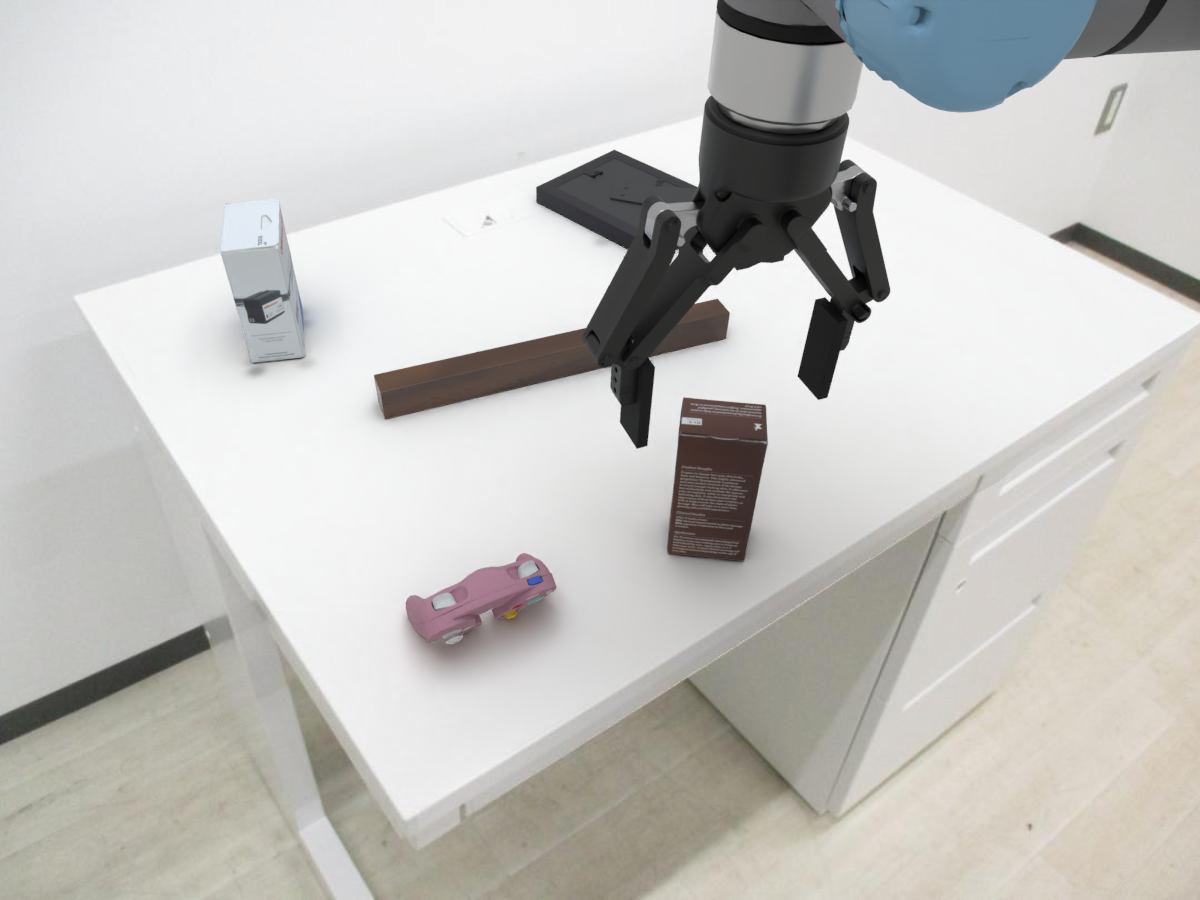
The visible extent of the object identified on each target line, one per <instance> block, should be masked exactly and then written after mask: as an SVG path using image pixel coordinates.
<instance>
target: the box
mask: <svg viewBox="0 0 1200 900" xmlns="http://www.w3.org/2000/svg"><path fill="white" fill-rule="evenodd" d="M679 416H680V417H679V426H678V433H677V434H678V435H677V448H676V457H675V467H674V477H673V478H674V479H673V485H672V486H673V487H672V494H671V495H672V497H671V505H670V513H669V523H668V524H669V525H668V536H667V544H666V551H667V553H668V554H670V555H681V556H689V557H690V556H691V557H700V558H710V559H719V560H730V561H737V562H739V561H740V562H745V561H746V554H747V549H748V544H749V539H750V535H751V530H752V524H753V520H754V515H755V510H756V504H757V500H758V495H759V488H760V484H761V479H762V473H763V468H764V463H765V459H766V454H767V449H768V445H769V439H768V438H769V437H768V422H767V421H768V419H767V405H766V404H762V403H751V402H750V403H749V402H738V401H737V402H736V401H727V400H715V399H704V398H695V397H694V398H693V397H683V398H682V401H681V408H680V415H679Z"/></svg>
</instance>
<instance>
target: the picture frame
mask: <svg viewBox="0 0 1200 900" xmlns="http://www.w3.org/2000/svg"><path fill="white" fill-rule="evenodd" d="M697 188H698V186H696V185H694V184H692V183H689V182H688V181H685V180H683V179H681V178H679V177H677V176H674V175H672V174H669V173H667V172H666V171H663V170H661V169H658V168H656V167H654V166H652V165H650V164H647V163H645V162H643V161H641V160H639V159H636V158H634V157H631V156H629V155H627V154H626V153H623V152H621V151H619V150H616V149H613V150H610V151H608V152H606V153H604V154H602V155H600V156H598V157H595V158H593V159H592V160H590V161H587V162H585V163H583V164H581V165H579V166H577V167H575V168H573V169H571V170H568V171H567V172H565V173H561V174H560V175H558V176H557V177H554V178H552V179H550V180H548V181H546V182H544V183H542V184H540V185H538V186H536V187H535V192H536V193H535V198H536V203H538V204H539V205H541V206H542V207H545V208H546V209H549V210H551V211H553V212H555V213H556V214H559V215H561V216H563V217H565V218H567V219H568V220H570V221H573V222H574V223H576V224H578V225H580V226H582V227H584V228H586V229H587V230H589V231H592V232H594V233H595V234H597V235H599V236H601V237H603V238H606V239H607V240H609V241H611V242H613V243H615V244H617V245H619V246H621V247H623V248H625V249H627V250H628V249H629V247H630V245H631V243H632V241H633V240H634V238H635V236H636V234H637V230H638V225H639V219H640V214H641V209H642V204H643V202H644V201H645V199H646V198H648V197H649V196H651V195H658V196H659V197H660V198H661V199H662V200H663V201H664V202H665V203H681V202H690V201H691V199H692V197H693V196H694V194H695V192H696V190H697ZM694 227H695V226H694ZM694 227H692V228H690V229H689V230H687V232H686V233H685V235H684V238H685V237H686V236H687V235H688V234H689V233H690V231H691V230H692V229H693V228H694ZM676 250H679V247H676Z"/></svg>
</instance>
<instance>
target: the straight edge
mask: <svg viewBox="0 0 1200 900" xmlns="http://www.w3.org/2000/svg"><path fill="white" fill-rule="evenodd" d="M730 316H731V312H730V311H729V310H728V309H727V307H726V306H725V305H724V304H723V303H722V302H721V300H719V299H718V298H714V299H710V300H705V301H701V302H695V304H694V305H693V306H692V307H691V308H690V309H689V311H688V312H687V313H686V314H685V315H684V316H683V317H682V319H681V320H680V321H679V322H678V323H677V324H676V326H675V327H674V328H673V329H672V330H671V331H670V333H669V334H668V335H667V336H666V337H665V338H664V339H663V341H662V342H661V343H660V344H659V345H658V346H657V348H656V349H655V350H654V351H653V352H652V353H651V354H650V356H649V357H654V356H658V355H661V354H667V353H671V352H676V351H679V350H683V349H687V348H692V347H696V346H701V345H704V344H708V343H713V342H717V341H721V340H725V339H726V340H727V336H728V335H727V334H728V328H729V323H730ZM585 329H586V327H583V328H579V329H574V330H570V331H565V332H561V333H557V334H551V335H548V336H543V337H539V338H538V337H537V338H534V339H530V340H525V341H520V342H516V343H512V344H507V345H502V346H497V347H494V348H488V349H484V350H480V351H475V352H471V353H466V354H462V355H457V356H452V357H448V358H443V359H439V360H434V361H430V362H426V363H421V364H417V365H412V366H408V367H403V368H397V369H394V370H389V371H385V372H380V373H376V374H373V379H374V385H375V386H374V387H375V391H376V396H377V402H378V405H379V407H380V410H381V413H382V415H383V418H384V420H388V419H392V418H397V417H401V416H404V415H409V414H413V413H416V412H422V411H425V410H430V409H434V408H438V407H442V406H447V405H450V404H456V403H459V402H464V401H468V400H472V399H477V398H481V397H485V396H489V395H493V394H498V393H502V392H507V391H510V390H515V389H518V388H522V387H528V386H531V385H535V384H539V383H543V382H548V381H552V380H556V379H561V378H566V377H569V376H573V375H578V374H581V373H586V372H590V371H595V370H598V369H603V368H602V367H600V366H599V365H598V364H597V362H596V360H595V359H594V357H593V356H592V354H591V353H590V351H589V350H588V348H587V347H586V345H585V344H584V342H583V340H582V336H583V333H584V331H585ZM633 341H634V340H633ZM649 357H648V358H649Z"/></svg>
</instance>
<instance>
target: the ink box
mask: <svg viewBox="0 0 1200 900" xmlns="http://www.w3.org/2000/svg"><path fill="white" fill-rule="evenodd" d="M223 204H224V205H223V206H224V208H223V217H222V226H221V235H220V237H221V238H220V247H219V248H220V250H219V253H220V256H221V261H222V263H223V267H224V270H225V273H226V277H227V280H228V283H229V287H230V290H231V295H232V297H233V301H234V305H235V308H236V311H237V315H238V318H239V323H240V326H241V330H242V333H243V336H244V340H245V344H246V346H247V350H248V355H249V358H250V363H265V362H271V361H273V362H274V361H282V360H291V359H292V360H293V359H301V358H303V357H305V354H306V353H305V336H304V333H305V332H304V315H303V314H304V313H303V303H302V299H301V296H300V290H299V286H298V282H297V276H296V273H295V268H294V263H293V259H292V253H291V250H290V244H289V239H288V236H287V231H286V226H285V222H284V218H283V217H284V216H283V214H282V213H283V212H282V207H281V201H280V200H279V198H269V199H261V200H259V199H258V200H249V201H238V202H228V203H223Z"/></svg>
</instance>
